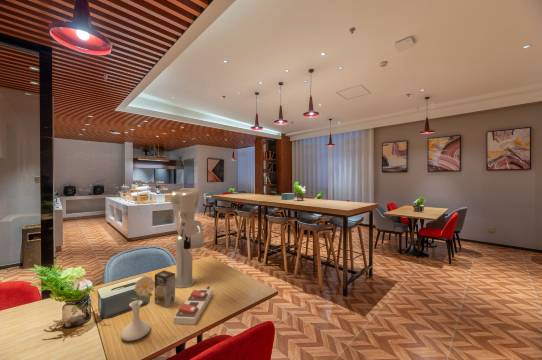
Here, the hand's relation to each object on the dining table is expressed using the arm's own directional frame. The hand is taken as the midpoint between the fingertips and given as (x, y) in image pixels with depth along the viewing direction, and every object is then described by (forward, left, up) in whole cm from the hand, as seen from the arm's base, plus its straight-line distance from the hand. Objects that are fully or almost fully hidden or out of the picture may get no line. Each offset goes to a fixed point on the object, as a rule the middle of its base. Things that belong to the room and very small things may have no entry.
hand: (187, 248), depth 130 cm
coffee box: (-11, -3, -29) cm, 31 cm away
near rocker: (+7, -16, -25) cm, 31 cm away
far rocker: (+7, -2, -25) cm, 26 cm away
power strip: (+7, -2, -29) cm, 30 cm away
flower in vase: (-10, -28, -29) cm, 42 cm away
